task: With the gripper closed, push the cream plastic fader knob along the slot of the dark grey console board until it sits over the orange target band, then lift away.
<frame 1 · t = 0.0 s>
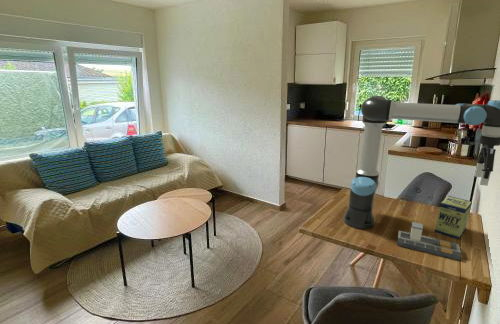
hand: (480, 180, 137), 28 cm above the table, fingers open, 13 cm apart
console board: (426, 246, 134), on the table
protein box: (450, 231, 149), on the table
fader knob: (416, 231, 135), point 6 cm above the table, slide at 0.0 cm
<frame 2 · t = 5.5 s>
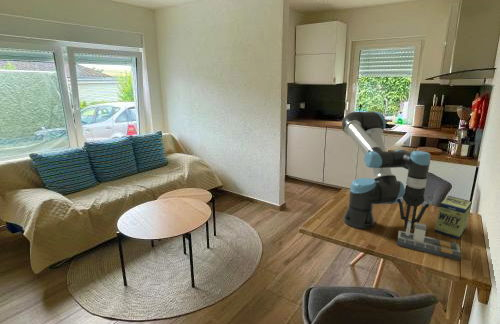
hand: (407, 234, 136), 4 cm above the table, fingers closed
fader knob: (419, 232, 134), point 6 cm above the table, slide at 1.3 cm, touching gripper
everything else where it was.
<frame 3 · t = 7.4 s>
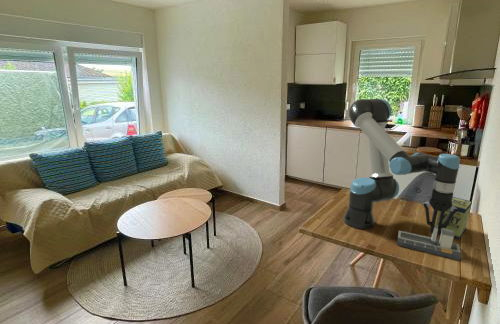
hand: (433, 239, 132), 4 cm above the table, fingers closed
fader knob: (446, 238, 129), point 6 cm above the table, slide at 11.7 cm, touching gripper
everything else where it was.
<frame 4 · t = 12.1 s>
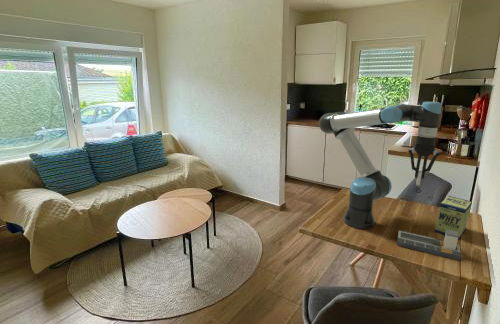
hand: (417, 184, 142), 24 cm above the table, fingers closed
fader knob: (450, 239, 129), point 6 cm above the table, slide at 13.3 cm
everything else where it was.
at the end: fader knob slide at 13.3 cm; fader knob 1.5 cm from the target spot, resting on console board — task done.
